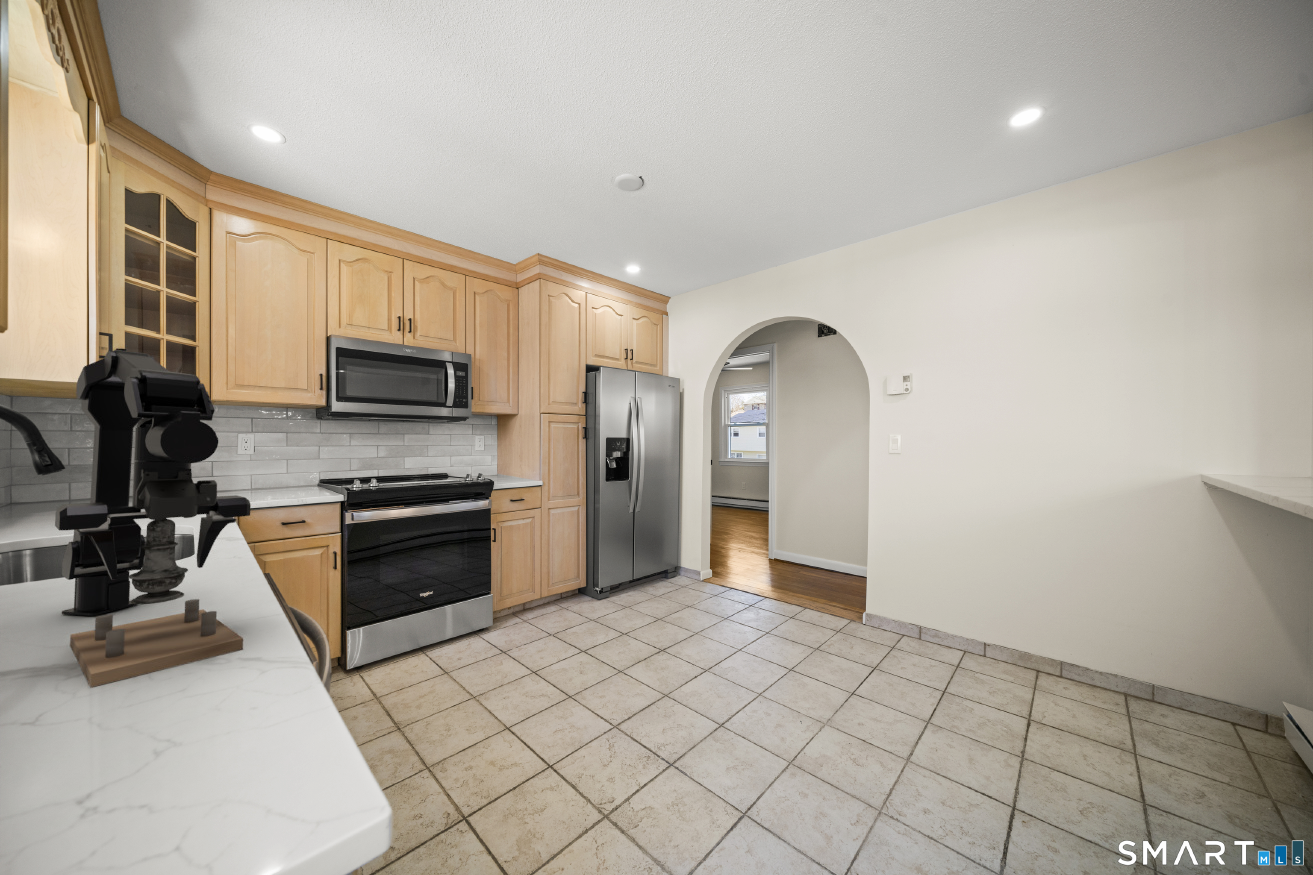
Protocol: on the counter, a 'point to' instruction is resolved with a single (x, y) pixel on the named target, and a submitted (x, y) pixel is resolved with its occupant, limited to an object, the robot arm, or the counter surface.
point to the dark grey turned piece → (159, 565)
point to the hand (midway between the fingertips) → (158, 572)
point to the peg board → (151, 644)
